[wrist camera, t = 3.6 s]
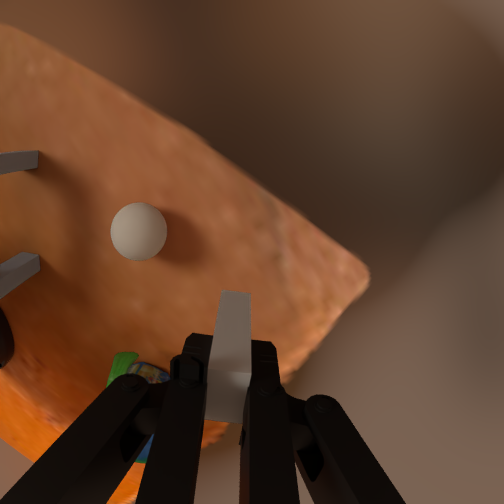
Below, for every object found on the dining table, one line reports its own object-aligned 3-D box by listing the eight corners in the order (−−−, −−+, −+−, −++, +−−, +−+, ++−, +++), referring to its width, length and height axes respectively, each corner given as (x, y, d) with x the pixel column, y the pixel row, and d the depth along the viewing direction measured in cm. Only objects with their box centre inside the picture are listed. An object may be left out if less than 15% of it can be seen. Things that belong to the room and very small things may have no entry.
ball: (171, 253, 33) (157, 273, 27) (122, 247, 32) (101, 264, 27) (174, 201, 31) (160, 211, 26) (124, 196, 31) (101, 205, 25)
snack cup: (104, 326, 35) (68, 377, 26) (186, 339, 36) (169, 398, 26) (119, 412, 40) (99, 463, 30) (188, 425, 41) (178, 480, 31)
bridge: (38, 150, 29) (-15, 156, 20) (40, 270, 33) (-4, 301, 24) (20, 150, 28) (-32, 157, 20) (23, 266, 33) (-21, 295, 24)
